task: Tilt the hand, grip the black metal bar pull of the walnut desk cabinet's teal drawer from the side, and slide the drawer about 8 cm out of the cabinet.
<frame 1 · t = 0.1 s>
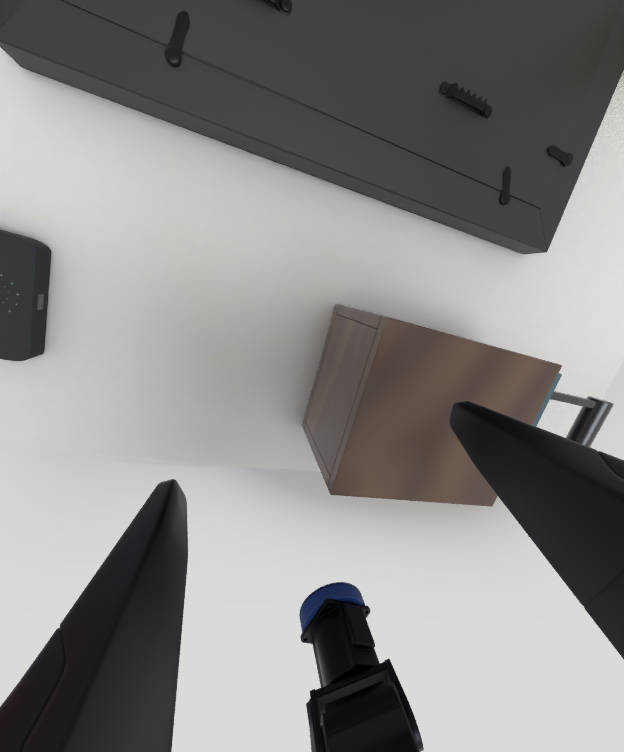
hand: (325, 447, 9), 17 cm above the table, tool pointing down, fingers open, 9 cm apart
drawer: (467, 411, 25), point 5 cm above the table, slide at 0.5 cm
cabinet: (384, 381, 28), on the table
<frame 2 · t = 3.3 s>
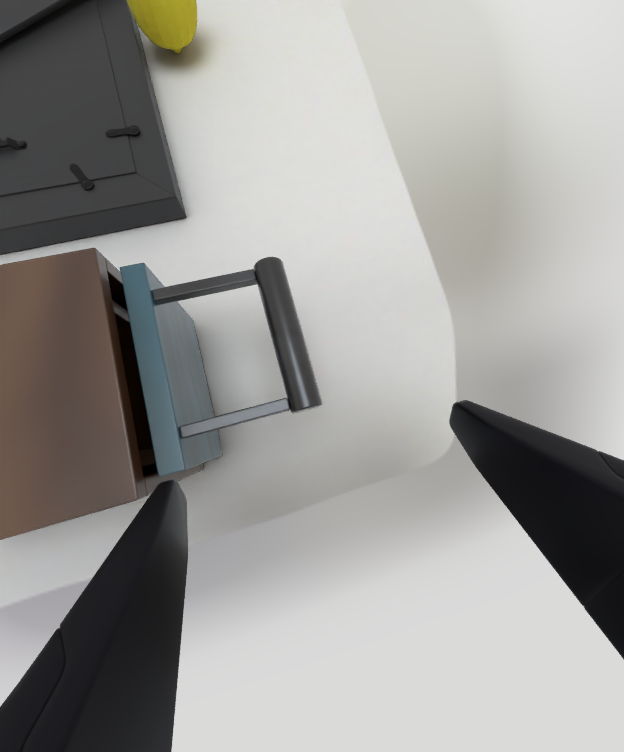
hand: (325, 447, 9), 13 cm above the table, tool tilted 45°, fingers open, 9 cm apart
lemon: (176, 55, 28), on the table
drawer: (140, 386, 17), point 5 cm above the table, slide at 0.5 cm
cabinet: (93, 416, 21), on the table
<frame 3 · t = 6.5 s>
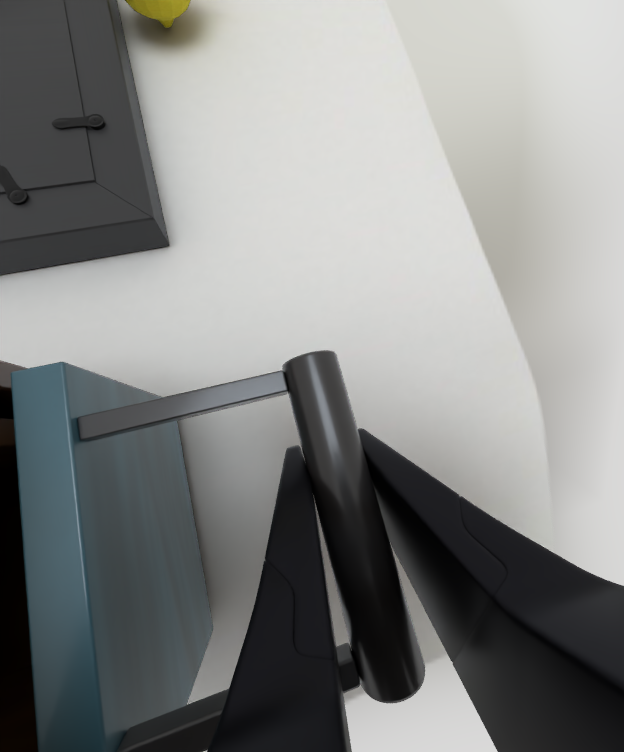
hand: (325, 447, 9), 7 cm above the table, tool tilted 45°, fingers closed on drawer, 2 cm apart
lemon: (166, 31, 21), on the table
drawer: (66, 561, 10), point 5 cm above the table, slide at 0.6 cm, touching gripper
cabinet: (5, 558, 13), on the table
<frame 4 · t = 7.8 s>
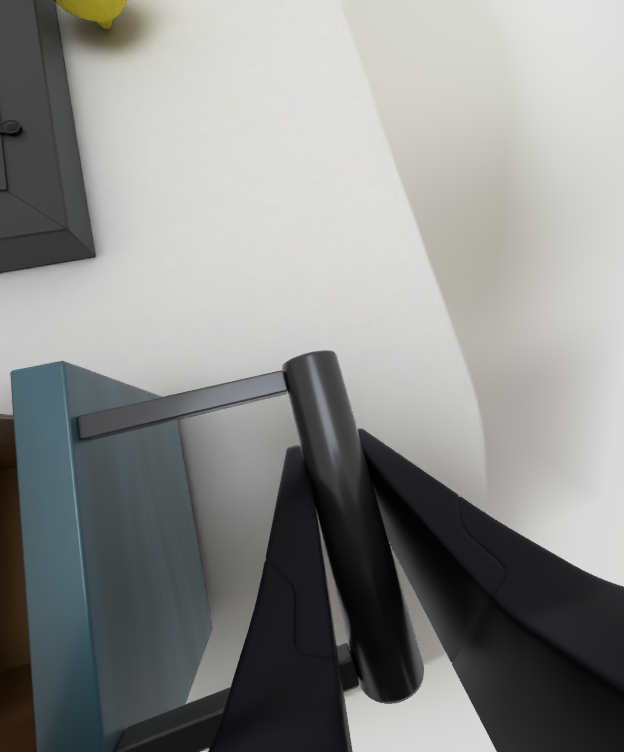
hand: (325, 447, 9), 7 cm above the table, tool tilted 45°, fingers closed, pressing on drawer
lemon: (106, 32, 21), on the table
drawer: (66, 560, 10), point 5 cm above the table, slide at 4.7 cm, touching gripper
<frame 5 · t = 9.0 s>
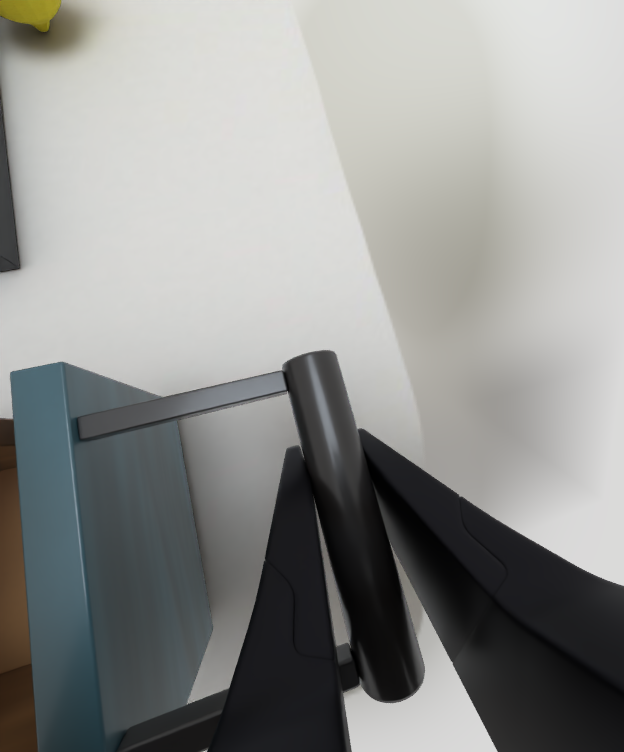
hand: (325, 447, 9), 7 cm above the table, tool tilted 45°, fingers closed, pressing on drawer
lemon: (44, 35, 20), on the table
drawer: (66, 561, 10), point 5 cm above the table, slide at 8.5 cm, touching gripper
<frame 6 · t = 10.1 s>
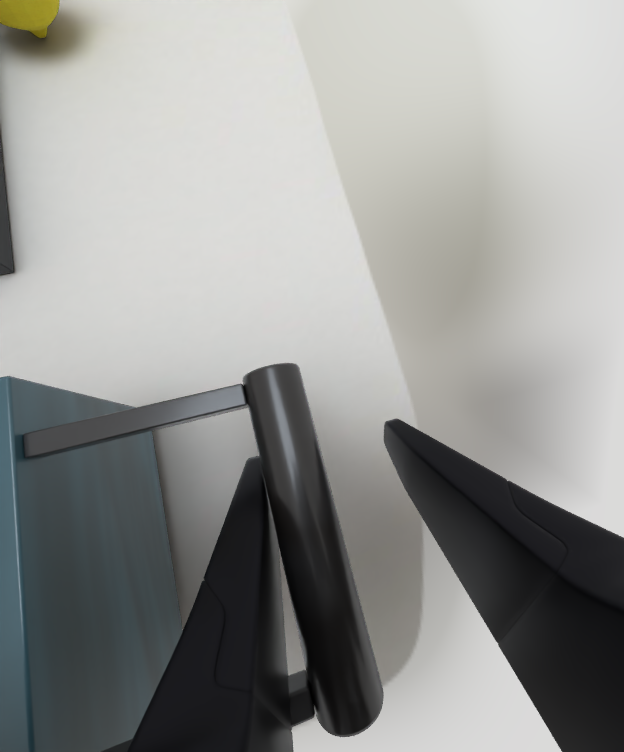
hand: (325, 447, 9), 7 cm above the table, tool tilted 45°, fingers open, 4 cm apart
lemon: (42, 41, 20), on the table
drawer: (23, 580, 9), point 5 cm above the table, slide at 7.6 cm, touching gripper
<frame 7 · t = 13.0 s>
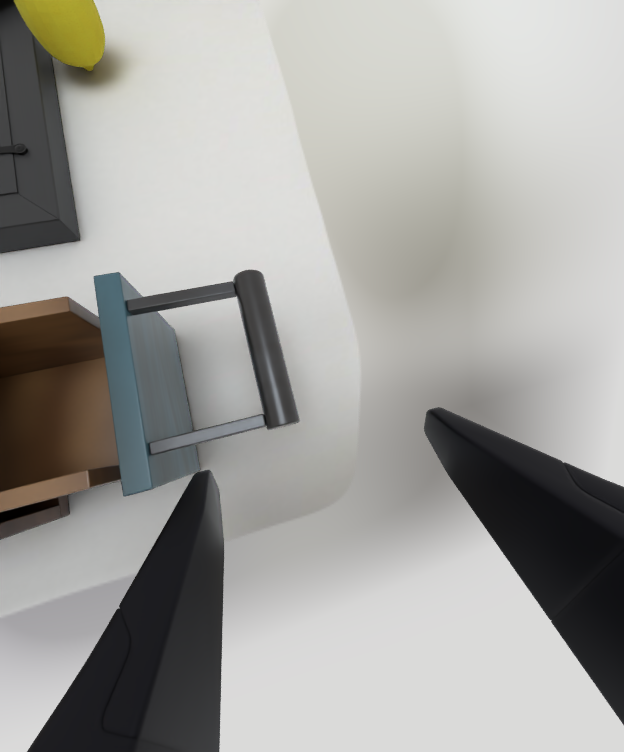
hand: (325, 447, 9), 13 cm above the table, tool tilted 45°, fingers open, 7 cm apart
lemon: (89, 73, 27), on the table
drawer: (113, 398, 17), point 5 cm above the table, slide at 7.6 cm
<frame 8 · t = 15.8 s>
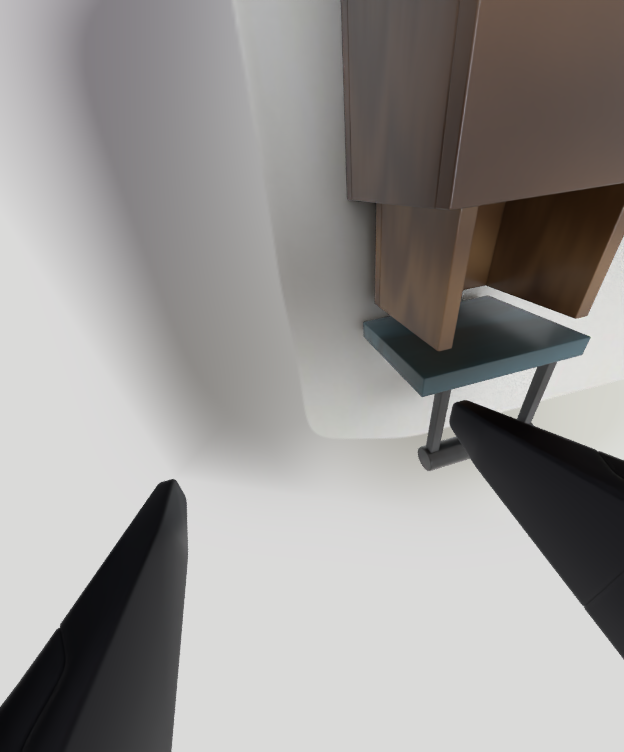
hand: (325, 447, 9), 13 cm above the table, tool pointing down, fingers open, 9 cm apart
drawer: (469, 304, 18), point 5 cm above the table, slide at 7.6 cm
cabinet: (451, 26, 15), on the table
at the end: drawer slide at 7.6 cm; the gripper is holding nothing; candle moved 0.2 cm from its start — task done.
